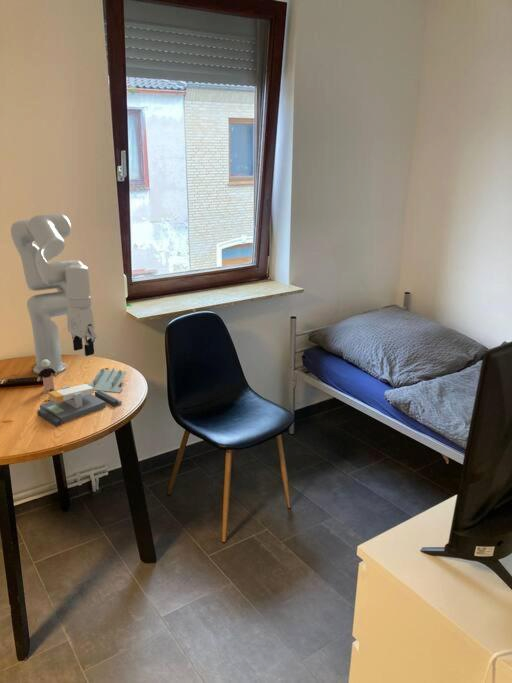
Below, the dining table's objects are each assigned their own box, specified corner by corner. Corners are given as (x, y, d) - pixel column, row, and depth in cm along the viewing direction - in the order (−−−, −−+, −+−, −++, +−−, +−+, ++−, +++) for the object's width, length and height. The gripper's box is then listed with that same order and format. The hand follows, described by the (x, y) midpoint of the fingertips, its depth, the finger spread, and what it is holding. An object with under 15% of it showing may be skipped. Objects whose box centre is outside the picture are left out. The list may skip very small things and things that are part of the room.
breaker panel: (40, 410, 187) (38, 391, 185) (84, 394, 199) (82, 377, 197) (61, 423, 178) (59, 404, 176) (105, 406, 190) (104, 388, 188)
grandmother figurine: (53, 386, 205) (50, 355, 201) (60, 389, 203) (57, 357, 199) (36, 393, 199) (32, 361, 195) (43, 396, 197) (39, 364, 193)
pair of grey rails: (38, 415, 183) (37, 410, 183) (101, 393, 201) (100, 388, 200) (57, 428, 175) (57, 423, 175) (121, 403, 193) (121, 399, 192)
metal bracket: (95, 364, 213) (131, 367, 211) (98, 375, 216) (133, 378, 214) (79, 387, 202) (117, 391, 199) (83, 399, 205) (120, 403, 203)
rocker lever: (47, 397, 184) (47, 391, 183) (84, 388, 194) (84, 382, 194) (57, 403, 180) (57, 397, 179) (94, 394, 190) (94, 388, 190)
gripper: (55, 299, 183) (60, 348, 189) (83, 309, 172) (88, 361, 178) (75, 295, 188) (80, 343, 194) (104, 305, 178) (107, 355, 184)
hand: (84, 351), depth 186 cm, fingers open, 6 cm apart
